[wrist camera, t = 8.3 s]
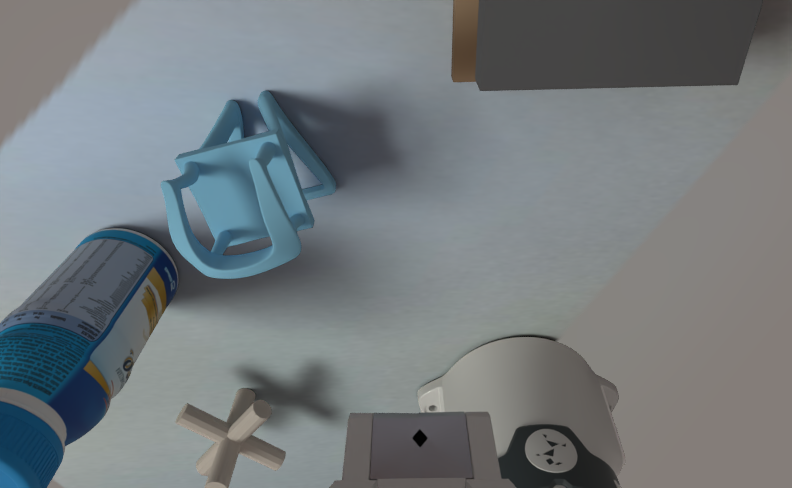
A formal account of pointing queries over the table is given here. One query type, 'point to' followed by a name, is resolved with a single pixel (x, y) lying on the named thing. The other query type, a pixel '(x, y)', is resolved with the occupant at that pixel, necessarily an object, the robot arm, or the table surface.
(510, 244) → the table surface
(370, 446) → the robot arm
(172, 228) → the chair
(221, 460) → the pipe connector
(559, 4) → the collar
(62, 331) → the beverage bottle
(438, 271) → the table surface
